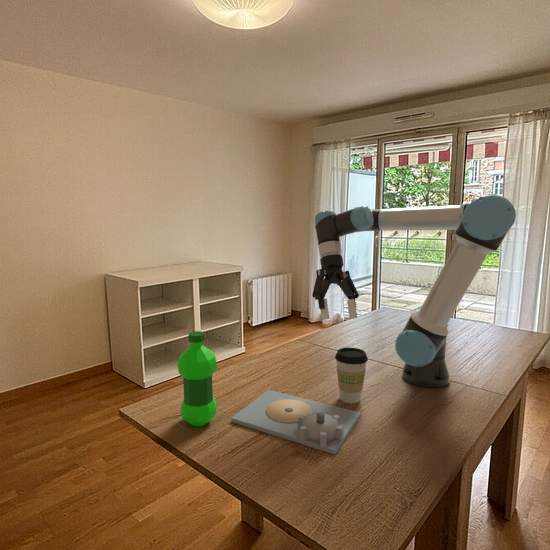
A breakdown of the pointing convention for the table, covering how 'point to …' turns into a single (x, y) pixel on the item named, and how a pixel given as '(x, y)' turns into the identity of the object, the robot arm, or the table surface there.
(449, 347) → the table surface
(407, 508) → the table surface
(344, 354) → the coffee cup
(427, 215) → the robot arm
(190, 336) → the plastic bottle
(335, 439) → the gear board
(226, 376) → the table surface
